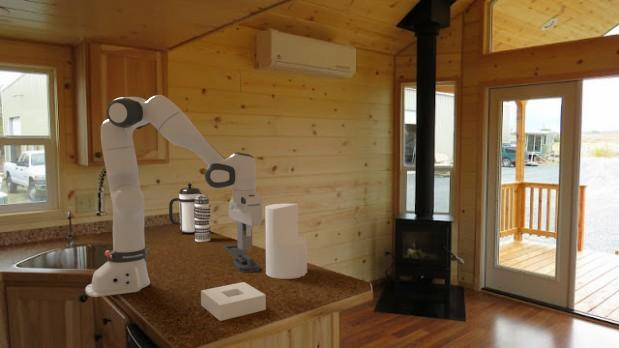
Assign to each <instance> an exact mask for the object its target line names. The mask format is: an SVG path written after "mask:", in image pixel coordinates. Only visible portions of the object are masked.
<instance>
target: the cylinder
mask: <svg viewBox="0 0 619 348" xmlns="http://www.w3.org/2000/svg"><path fill="white" fill-rule="evenodd" d="M264 211H265V217H264V218H265V274H266V275H267V276H268V277H269V278H274V279H278V280H281V279H282V280H290V279H292V280H293V279H298V278H302V277H304V276H306V275H307V274H308V240H307V238H306V237H304V236H299V203H275V204H274V203H273V204H269V205H266V206H265V209H264ZM306 273H307V274H306ZM305 274H306V275H305ZM301 276H302V277H301Z"/></svg>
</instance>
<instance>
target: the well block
mask: <svg viewBox="0 0 619 348" xmlns="http://www.w3.org/2000/svg"><path fill="white" fill-rule="evenodd" d="M266 295H267V294H265V293H263V292H262V291H260V290H258V289H257V288H255V287H253V286H251V285H250V284H248V283H246V282H244V281H243V282H238V283H237V282H235V283H232V284H228V285H222V286H217V287H212V288H207V289H202V290H200V302H201V303H200V304H201V306H202V307H203V308H204V309H205V310H206V311H208V312H209V313H210V314H211V315H212V316H213V317H215V318H216V319H217V320H218V321H220V322H222V321H225V320H229V319H233V318H238V317H242V316H245V315H246V316H247V315H251V314H253V313H257V312H258V313H259V312H262V311H266V310H267V306H266V304H267V301H266V300H267V299H266Z"/></svg>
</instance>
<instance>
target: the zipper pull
mask: <svg viewBox="0 0 619 348" xmlns="http://www.w3.org/2000/svg"><path fill="white" fill-rule="evenodd" d="M222 248H223V250H225V251H226V252H227V253H229V254H230V255H231V256H233V257H234V258H235V259H233V260H232V266H233V267H234V268H235V269H237V270H238V272H241V273H252V272H257V271H259V270H260V263H259V262H257V261H255V260H254V258H253V257H251V256H250V255H249V254H248V253H247V252H246V251H245V250H241V249H239V248H238V243H235V244H226V245H222Z"/></svg>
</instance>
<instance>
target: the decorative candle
mask: <svg viewBox="0 0 619 348" xmlns="http://www.w3.org/2000/svg"><path fill="white" fill-rule="evenodd" d="M194 199H195V206H194V211H195V212H194V214H195V215H194V217H195V219H194V220H195V232H196V233H194V241H195V242H198V243H199V242H200V243H203V242H204V243H205V242H209V241H211V237H212V236H211V227H210V226H211V224H210V220H211V218H210V217H211V214H210V213H211V208H210V207H211V206H212V205H210V203H209V202H210V200H209V199H210V197H209V196H208V194H207V195H206V194H202V195H198V196H196V198H194Z"/></svg>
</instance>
